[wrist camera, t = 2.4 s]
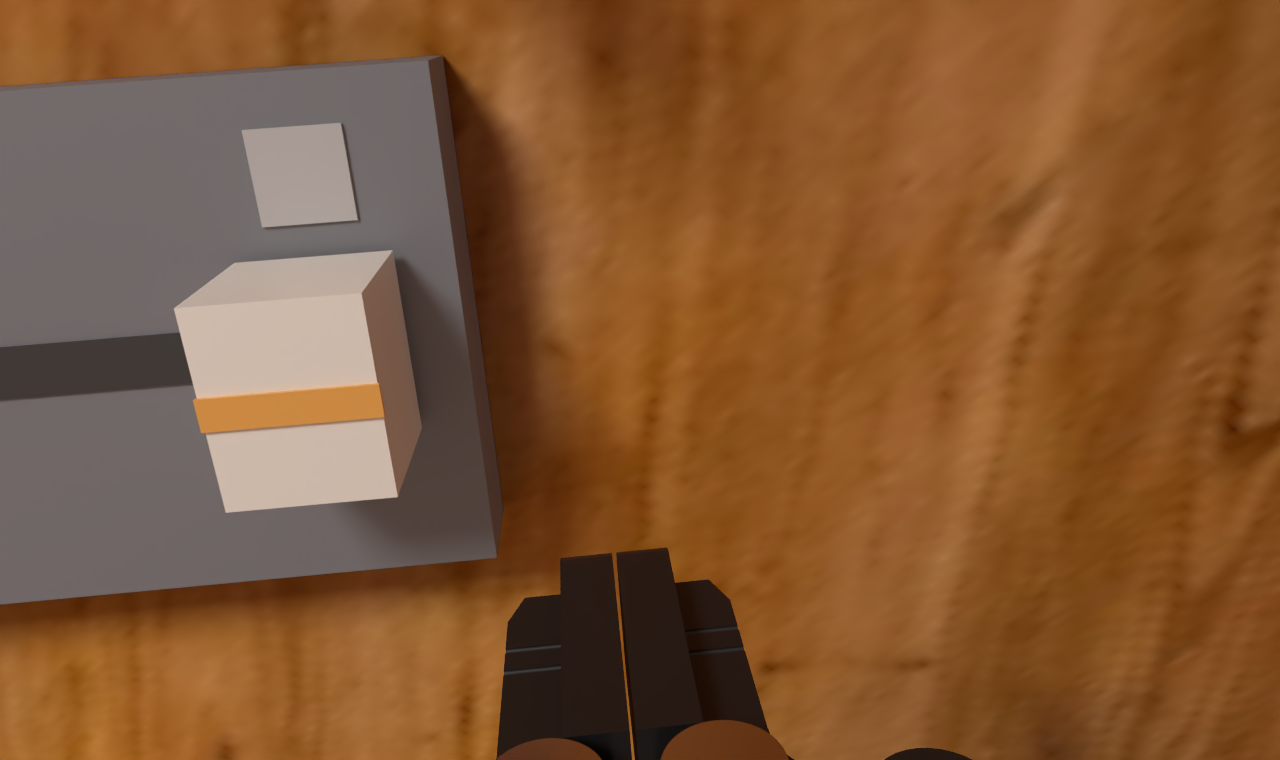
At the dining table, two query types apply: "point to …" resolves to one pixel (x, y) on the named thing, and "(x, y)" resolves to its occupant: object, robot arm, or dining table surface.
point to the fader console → (178, 267)
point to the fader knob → (303, 380)
